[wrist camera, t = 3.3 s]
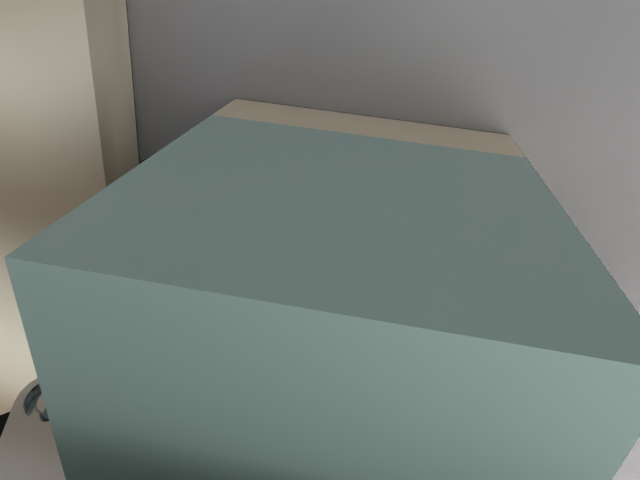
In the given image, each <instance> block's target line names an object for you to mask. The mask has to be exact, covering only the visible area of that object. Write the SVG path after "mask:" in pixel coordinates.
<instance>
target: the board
mask: <svg viewBox="0 0 640 480" xmlns="http://www.w3.org/2000/svg"><path fill="white" fill-rule="evenodd" d="M138 165H139V155H138V143H137V131H136V119H135V106H134V94H133V82H132V70H131V58H130V46H129V34H128V22H127V9H126V0H0V415H2V414H5V413H8V412H10V411H11V409H12V407H13V404H14V402H15V400H16V398H17V396H18V395H19V393H20V391H21V390H22V389H24V388H25V387H26V386H27V385H28V384H29V383H30V382H32V381H33V380H35V379H37V374H36V370H35V367H34V363H33V360H32V356H31V352H30V349H29V345H28V342H27V338H26V335H25V331H24V327H23V324H22V320H21V317H20V313H19V309H18V306H17V302H16V299H15V295H14V291H13V288H12V284H11V281H10V277H9V273H8V270H7V266H6V263H5V259H4V257H5V256H6V255H8V254H9V253H11V252H12V251H14V250H15V249H16V248H18V247H19V246H21V245H22V244H24V243H25V242H27V241H28V240H30V239H31V238H32V237H34V236H35V235H37V234H38V233H40V232H41V231H43V230H44V229H46V228H47V227H49V226H50V225H51V224H53V223H54V222H56V221H57V220H59V219H60V218H62V217H63V216H65V215H66V214H68V213H69V212H70V211H72V210H73V209H75V208H76V207H78V206H79V205H81V204H82V203H84V202H85V201H87V200H88V199H89V198H91V197H92V196H94V195H95V194H97V193H98V192H100V191H101V190H103V189H104V188H106V187H107V186H108V185H110V184H111V183H113V182H114V181H116V180H117V179H119V178H120V177H122V176H123V175H124V174H126V173H127V172H129V171H130V170H132V169H133V168H135V167H136V166H138Z"/></svg>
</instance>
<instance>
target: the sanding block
mask: <svg viewBox="0 0 640 480" xmlns="http://www.w3.org/2000/svg"><path fill="white" fill-rule="evenodd" d="M4 259H5V263H6V266H7V270H8V273H9V277H10V281H11V284H12V288H13V291H14V295H15V299H16V302H17V306H18V309H19V313H20V317H21V320H22V324H23V327H24V331H25V335H26V338H27V342H28V345H29V349H30V352H31V356H32V360H33V363H34V367H35V370H36V374H37V378H38V381H39V385H40V388H41V392H42V396H43V399H44V403H45V406H46V410H47V414H48V417H49V421H50V424H51V428H52V432H53V435H54V439H55V442H56V446H57V450H58V453H59V457H60V460H61V464H62V468H63V471H64V475H65V478H66V480H612V479H613V477H614V475H615V474H616V472H617V471H618V469H619V468H620V466H621V465H622V463H623V461H624V460H625V458H626V457H627V455H628V454H629V452H630V451H631V449H632V447H633V446H634V444H635V443H636V441H637V440H638V438H639V437H640V315H639V314H638V312H637V311H636V310H635V308H634V307H633V305H632V304H631V303H630V301H629V300H628V298H627V297H626V296H625V294H624V293H623V291H622V290H621V289H620V287H619V286H618V285H617V283H616V282H615V280H614V279H613V278H612V276H611V275H610V273H609V272H608V271H607V269H606V268H605V266H604V265H603V264H602V262H601V261H600V260H599V258H598V257H597V255H596V254H595V253H594V251H593V250H592V248H591V247H590V246H589V244H588V243H587V241H586V240H585V239H584V237H583V236H582V235H581V233H580V232H579V230H578V229H577V228H576V226H575V225H574V223H573V222H572V221H571V219H570V218H569V216H568V215H567V214H566V212H565V211H564V210H563V208H562V207H561V205H560V204H559V203H558V201H557V200H556V198H555V197H554V196H553V194H552V193H551V191H550V190H549V189H548V187H547V186H546V185H545V183H544V182H543V180H542V179H541V178H540V176H539V175H538V173H537V172H536V171H535V169H534V168H533V166H532V165H531V164H530V162H529V161H528V160H527V158H526V157H525V155H524V154H523V153H522V151H521V150H520V148H519V147H518V146H517V144H516V143H515V141H514V140H513V139H512V137H511V136H510V135H506V134H499V133H491V132H484V131H476V130H468V129H461V128H453V127H446V126H438V125H431V124H423V123H416V122H408V121H400V120H393V119H385V118H378V117H370V116H363V115H355V114H348V113H340V112H332V111H325V110H317V109H310V108H302V107H295V106H287V105H280V104H272V103H264V102H257V101H249V100H242V99H234V100H233V101H231V102H230V103H228V104H227V105H225V106H224V107H222V108H221V109H219V110H218V111H217V112H215V113H214V114H212V115H211V116H209V117H208V118H206V119H205V120H203V121H202V122H200V123H199V124H198V125H196V126H195V127H193V128H192V129H190V130H189V131H187V132H186V133H184V134H183V135H181V136H180V137H179V138H177V139H176V140H174V141H173V142H171V143H170V144H168V145H167V146H165V147H164V148H162V149H161V150H160V151H158V152H157V153H155V154H154V155H152V156H151V157H149V158H148V159H146V160H145V161H143V162H142V163H141V164H139V165H138V166H136V167H135V168H133V169H132V170H130V171H129V172H127V173H126V174H124V175H123V176H122V177H120V178H119V179H117V180H116V181H114V182H113V183H111V184H110V185H108V186H107V187H106V188H104V189H103V190H101V191H100V192H98V193H97V194H95V195H94V196H92V197H91V198H89V199H88V200H87V201H85V202H84V203H82V204H81V205H79V206H78V207H76V208H75V209H73V210H72V211H70V212H69V213H68V214H66V215H65V216H63V217H62V218H60V219H59V220H57V221H56V222H54V223H53V224H51V225H50V226H49V227H47V228H46V229H44V230H43V231H41V232H40V233H38V234H37V235H35V236H34V237H32V238H31V239H30V240H28V241H27V242H25V243H24V244H22V245H21V246H19V247H18V248H16V249H15V250H14V251H12V252H11V253H9V254H8V255H6V256H5V257H4Z"/></svg>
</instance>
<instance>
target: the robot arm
mask: <svg viewBox="0 0 640 480" xmlns="http://www.w3.org/2000/svg"><path fill="white" fill-rule="evenodd" d="M0 480H66V478H65V475H64V471H63V468H62V464H61V460H60V457H59V453H58V450H57V446H56V442H55V439H54V435H53V432H52V428H51V424H50V421H49V417H48V414H47V410H46V406H45V403H44V399H43V396H42V392H41V388H40V385H39V381H38V378H37V379H35V380H33V381H32V382H30V383H29V384H28V385H27V386H26V387H25V388H24V389H22V390H21V391H20V393H19V395H18V396H17V398H16V400H15V402H14V404H13V407H12V409H11V411H10V412H8V413H5V414H2V415H0Z"/></svg>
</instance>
